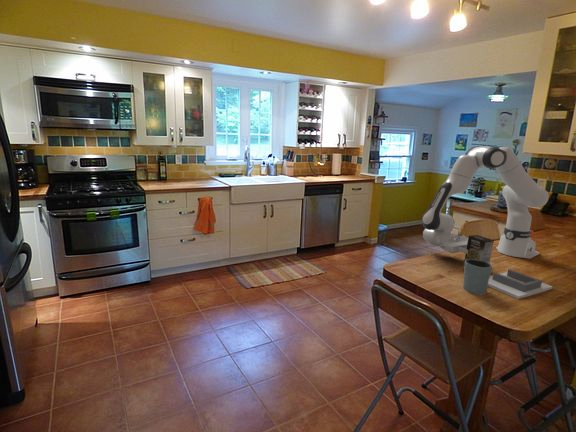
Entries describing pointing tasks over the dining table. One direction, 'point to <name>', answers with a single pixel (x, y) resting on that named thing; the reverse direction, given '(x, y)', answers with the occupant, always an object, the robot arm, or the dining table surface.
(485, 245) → the coffee box
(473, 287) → the ceramic plant pot
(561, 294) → the dining table surface
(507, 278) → the white base plate
